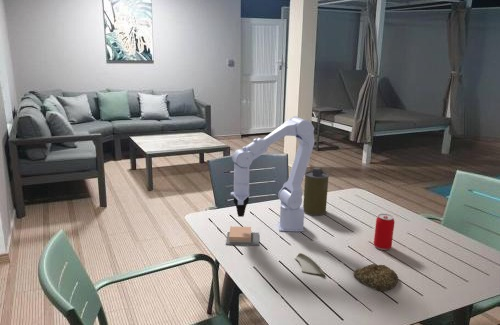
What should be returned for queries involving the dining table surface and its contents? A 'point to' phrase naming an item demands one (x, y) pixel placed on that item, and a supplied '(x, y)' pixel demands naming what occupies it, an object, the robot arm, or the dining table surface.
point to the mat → (253, 242)
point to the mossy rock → (377, 277)
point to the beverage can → (384, 231)
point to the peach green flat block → (240, 234)
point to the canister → (315, 192)
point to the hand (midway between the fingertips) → (240, 215)
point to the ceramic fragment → (309, 265)
